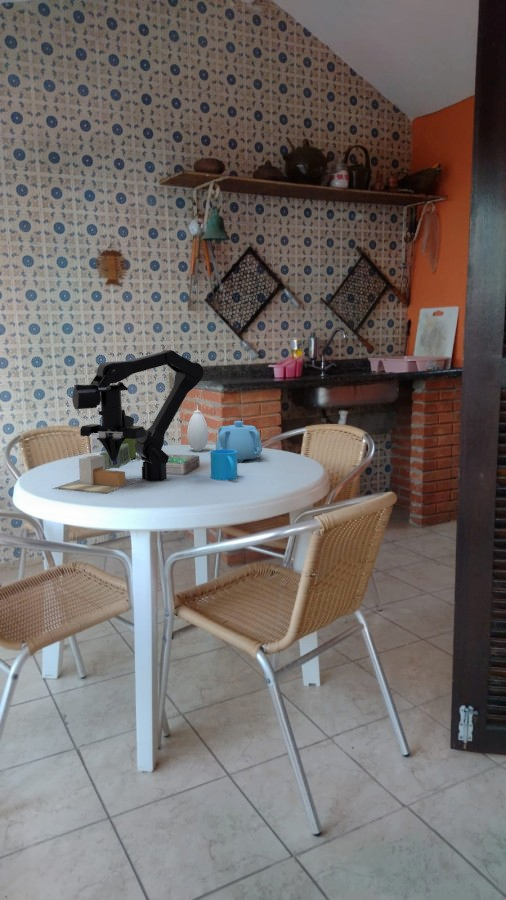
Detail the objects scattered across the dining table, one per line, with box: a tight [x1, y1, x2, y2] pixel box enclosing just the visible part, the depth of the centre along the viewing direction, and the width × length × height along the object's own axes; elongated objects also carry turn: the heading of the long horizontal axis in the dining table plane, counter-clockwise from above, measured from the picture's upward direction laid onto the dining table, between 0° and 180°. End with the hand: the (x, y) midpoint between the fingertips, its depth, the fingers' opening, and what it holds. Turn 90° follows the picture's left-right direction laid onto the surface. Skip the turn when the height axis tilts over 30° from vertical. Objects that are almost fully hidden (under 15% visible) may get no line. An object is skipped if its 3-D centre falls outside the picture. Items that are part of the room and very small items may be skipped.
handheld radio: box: [99, 443, 131, 470], centre depth 215 cm, size 7×3×25 cm
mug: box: [210, 449, 238, 481], centre depth 198 cm, size 12×8×8 cm
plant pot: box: [112, 424, 137, 460], centre depth 231 cm, size 12×12×11 cm
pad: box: [58, 482, 120, 494], centre depth 182 cm, size 16×6×1 cm, turn 68°
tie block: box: [78, 454, 106, 484], centre depth 190 cm, size 4×7×7 cm, turn 158°
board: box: [52, 478, 141, 495], centre depth 187 cm, size 18×18×1 cm
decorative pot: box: [215, 420, 263, 463], centre depth 229 cm, size 16×16×14 cm
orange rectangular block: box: [93, 469, 126, 486], centre depth 188 cm, size 12×4×4 cm, turn 68°
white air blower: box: [186, 403, 209, 452], centre depth 245 cm, size 8×8×18 cm
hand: (114, 460), depth 186 cm, fingers closed
